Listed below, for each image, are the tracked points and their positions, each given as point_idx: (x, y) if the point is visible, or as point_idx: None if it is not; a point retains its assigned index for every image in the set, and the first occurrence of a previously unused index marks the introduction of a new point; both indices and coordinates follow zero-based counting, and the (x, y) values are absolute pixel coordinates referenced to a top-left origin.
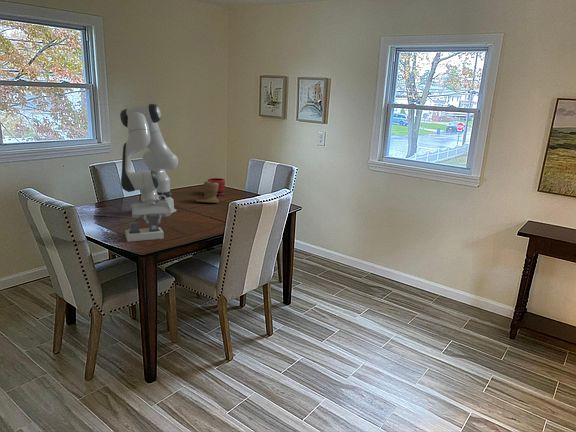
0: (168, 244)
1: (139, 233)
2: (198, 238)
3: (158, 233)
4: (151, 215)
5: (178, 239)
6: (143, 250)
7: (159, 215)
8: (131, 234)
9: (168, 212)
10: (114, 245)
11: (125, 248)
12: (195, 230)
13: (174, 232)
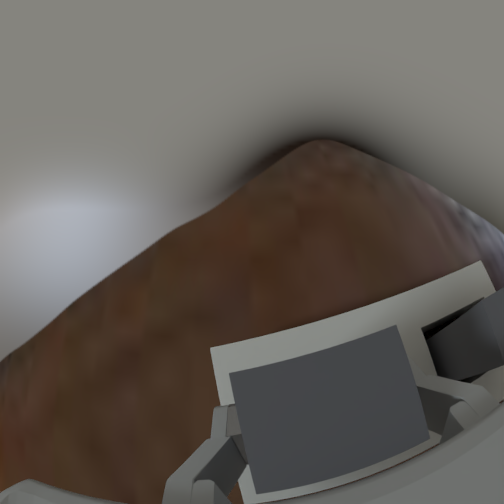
0: (199, 242)
1: (423, 306)
2: (43, 332)
3: (259, 338)
4: (372, 412)
5: (130, 331)
6: (329, 164)
7: (201, 492)
8: (466, 278)
9: (39, 488)
10: (486, 226)
11: (423, 187)
12: (40, 472)
13: (147, 487)
